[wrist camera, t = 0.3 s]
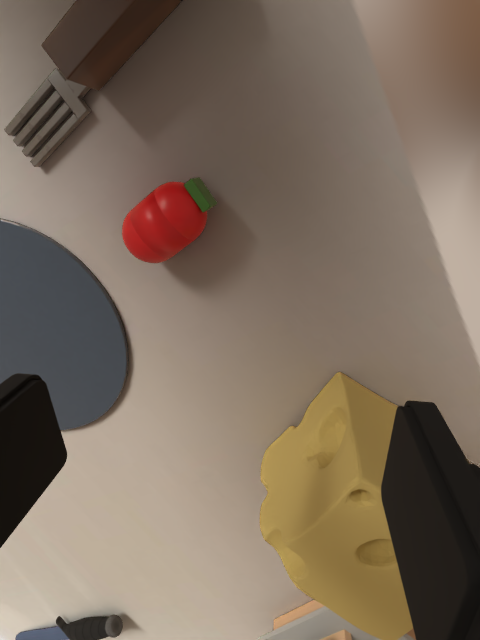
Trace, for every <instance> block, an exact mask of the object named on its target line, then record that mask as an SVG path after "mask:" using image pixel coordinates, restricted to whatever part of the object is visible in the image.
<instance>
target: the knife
mask: <svg viewBox="0 0 480 640" xmlns="http://www.w3.org/2000/svg"><path fill="white" fill-rule="evenodd" d="M56 624H57V625H58V626H56V627H55V628H54V627H51V628H47V629H45V628H44V629H43V630H42V629H37V630H31V631H25V632H20V633H19V634H18V635H17V636H16V640H99V639H103V638H106V637H109V636H110V637H117V636H119V634H120V633H121V631H122V628H123V623H122V620H121V618H120V617H119V616H117V615H112V616H110V617H89V618H83V619H80V620H77V621H75V622H71V623H69V624H66V622H65V621H64V620H63V619H62V618H61V617H60V616H59V617H58V618H57V619H56Z"/></svg>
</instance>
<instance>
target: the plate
mask: <svg viewBox="0 0 480 640" xmlns="http://www.w3.org/2000/svg"><path fill="white" fill-rule="evenodd" d="M128 362H129V359H128V345H127V340H126V335H125V331H124V328H123V325H122V322H121V319H120V317H119V314H118V312H117V310H116V308H115V306H114V304H113V302H112V300H111V299H110V297H109V295H108V294H107V292H106V291H105V289H104V288H103V286H102V285H101V284H100V282H99V281H98V280H97V278H96V277H95V276H94V275H93V274H92V272H91V271H90V270H89V269H88V268H87V267H86V266H85V265H84V264H83V263H82V262H81V261H80V260H79V259H78V258H76V257H75V256H74V255H73V254H72V253H71V252H69V251H68V250H67V249H66V248H64V247H63V246H61V245H60V244H59V243H57V242H56V241H54V240H53V239H51V238H49V237H48V236H46V235H44V234H42V233H40V232H38V231H37V230H34V229H32V228H30V227H27V226H25V225H22V224H20V223H16V222H13V221H9V220H5V219H1V218H0V384H1V383H2V382H4V381H5V380H6V379H8V378H9V377H10V376H12V375H14V374H17V373H22V374H36V375H39V376H40V377H41V378H42V380H43V381H44V382H46V384H47V387H48V391H49V394H50V397H51V401H52V404H53V408H54V411H55V414H56V418H57V421H58V424H59V428H60V430H67V429H73V428H77V427H81V426H84V425H86V424H89V423H91V422H93V421H95V420H96V419H98V418H99V417H101V416H102V415H104V414H105V413H106V412H107V411H108V410H109V409H110V408H111V407H112V405H113V404H114V403H115V401H116V400H117V398H118V397H119V395H120V393H121V391H122V389H123V387H124V384H125V381H126V377H127V372H128Z"/></svg>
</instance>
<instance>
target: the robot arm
mask: <svg viewBox="0 0 480 640" xmlns="http://www.w3.org/2000/svg"><path fill="white" fill-rule="evenodd" d="M66 459H67V451H66V448H65V444H64V441H63V438H62V434H61V431H60V428H59V424H58V421H57V418H56V414H55V411H54V408H53V404H52V401H51V397H50V394H49V391H48V387H47V384H46V382H44V381H43V380H42V378H41V377H40V376H39V375H36V374H22V373H17V374H14V375H12V376H10V377H9V378H8V379H6V380H5V381H4V382H2V383H1V384H0V548H1V546H2V545H3V544H4V543H5V541H6V540H7V539H8V537H9V536H10V535H11V534H12V532H13V531H14V530H15V528H16V527H17V526H18V524H19V523H20V522H21V521H22V519H23V518H24V517H25V515H26V514H27V513H28V511H29V510H30V509H31V508H32V506H33V505H34V504H35V502H36V501H37V500H38V499H39V497H40V496H41V495H42V493H43V492H44V491H45V489H46V488H47V487H48V486H49V484H50V483H51V482H52V480H53V479H54V478H55V476H56V475H57V474H58V473H59V471H60V470H61V469H62V467H63V466H64V464H65V462H66ZM381 498H382V504H383V508H384V512H385V516H386V520H387V524H388V528H389V532H390V536H391V540H392V544H393V548H394V552H395V556H396V560H397V564H398V568H399V572H400V576H401V580H402V584H403V588H404V592H405V596H406V600H407V604H408V609H409V613H410V617H411V621H412V625H413V629H414V633H415V637H416V640H480V468H479V467H478V466H476V465H475V464H469V463H468V461H467V459H466V457H465V456H464V454H463V452H462V450H461V448H460V447H459V445H458V443H457V441H456V440H455V438H454V436H453V434H452V433H451V431H450V429H449V427H448V426H447V424H446V422H445V420H444V419H443V417H442V415H441V413H440V412H439V410H438V408H437V406H436V405H435V404H434V403H432V402H419V401H407V402H406V403H405V406H404V407H403V406H399V407H397V410H396V414H395V419H394V424H393V429H392V434H391V439H390V444H389V449H388V454H387V459H386V464H385V469H384V474H383V479H382V484H381Z"/></svg>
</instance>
